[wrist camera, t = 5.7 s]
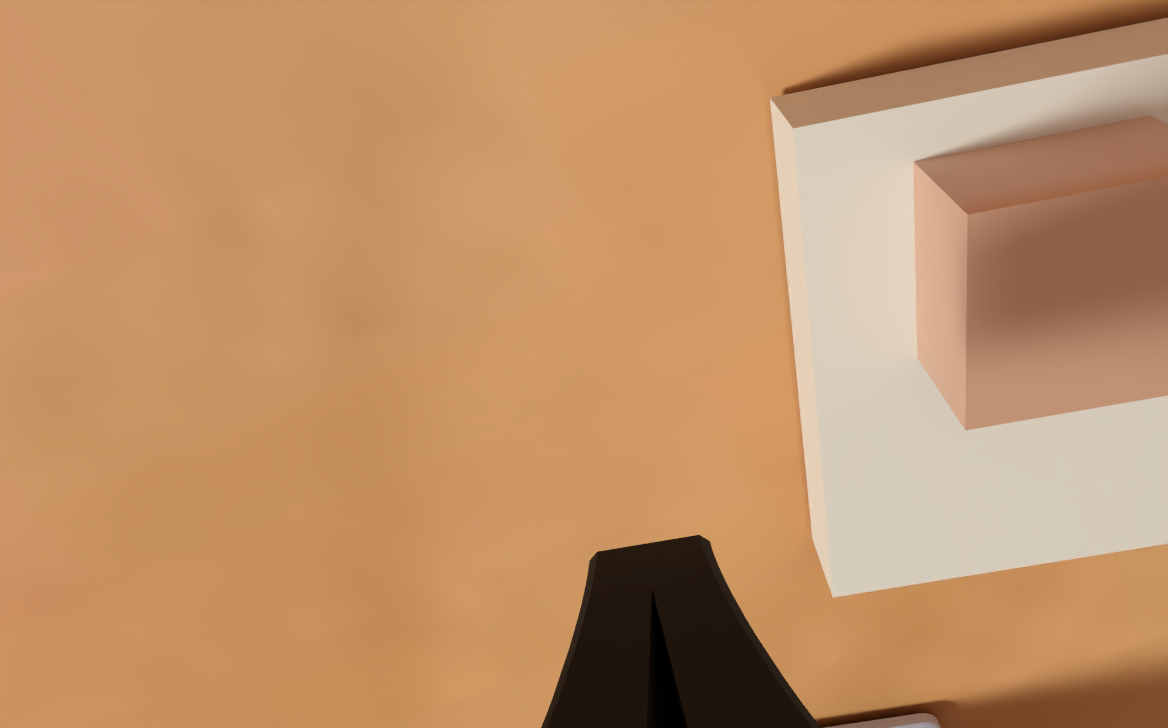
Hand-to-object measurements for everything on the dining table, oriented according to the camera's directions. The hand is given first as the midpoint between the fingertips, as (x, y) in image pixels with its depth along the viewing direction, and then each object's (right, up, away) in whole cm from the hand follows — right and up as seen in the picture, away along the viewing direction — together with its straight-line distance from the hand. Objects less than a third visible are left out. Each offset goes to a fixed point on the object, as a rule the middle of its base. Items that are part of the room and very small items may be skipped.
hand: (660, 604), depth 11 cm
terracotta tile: (+7, +5, +6) cm, 11 cm away
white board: (+8, +4, +9) cm, 13 cm away
